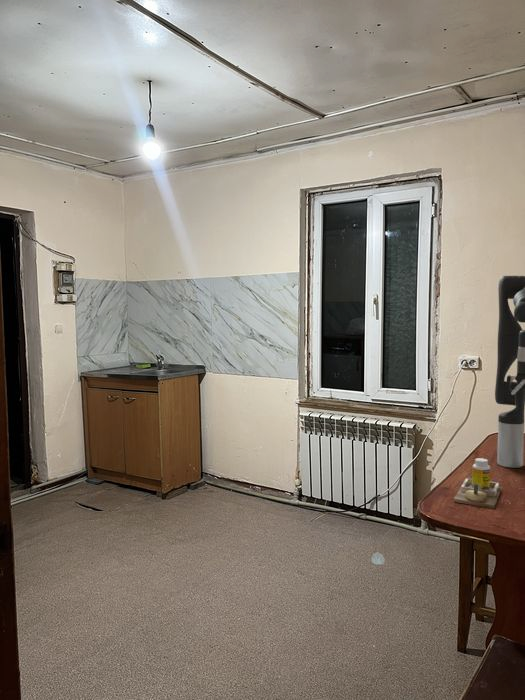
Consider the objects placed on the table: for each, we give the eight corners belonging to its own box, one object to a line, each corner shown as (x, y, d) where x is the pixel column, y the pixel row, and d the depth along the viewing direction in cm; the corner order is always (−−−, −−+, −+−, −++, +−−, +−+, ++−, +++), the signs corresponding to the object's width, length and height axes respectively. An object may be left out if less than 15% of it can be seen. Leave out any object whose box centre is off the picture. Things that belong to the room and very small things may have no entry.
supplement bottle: (483, 493, 174) (484, 463, 173) (468, 488, 178) (469, 459, 177) (493, 489, 177) (493, 460, 176) (478, 485, 181) (479, 456, 181)
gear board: (464, 484, 185) (464, 469, 185) (501, 490, 179) (501, 474, 179) (453, 501, 169) (454, 485, 169) (494, 508, 163) (494, 491, 163)
